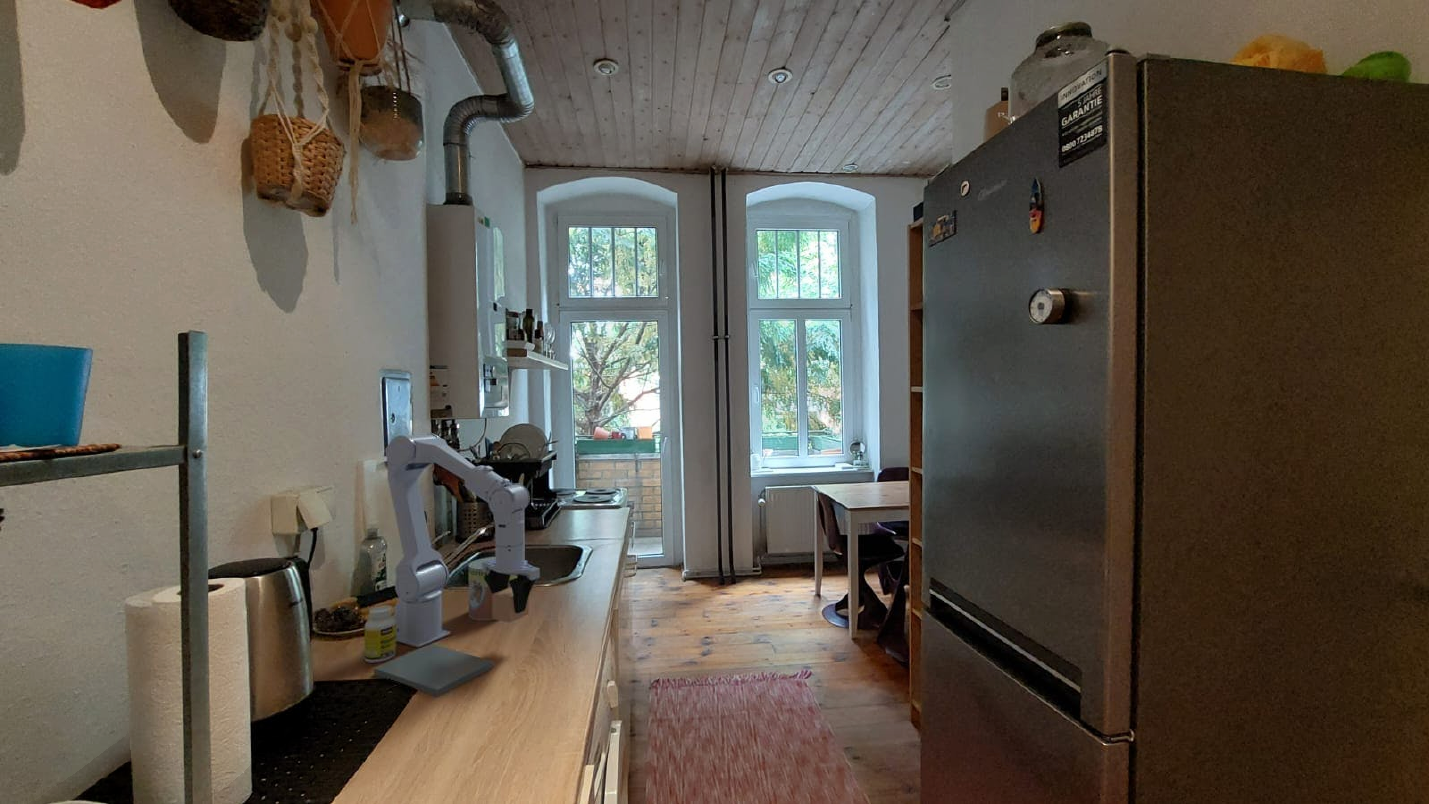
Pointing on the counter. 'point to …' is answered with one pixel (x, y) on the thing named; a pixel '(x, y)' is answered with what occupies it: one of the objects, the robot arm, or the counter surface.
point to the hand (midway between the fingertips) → (510, 609)
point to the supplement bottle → (380, 635)
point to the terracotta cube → (506, 606)
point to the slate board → (434, 669)
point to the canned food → (480, 591)
